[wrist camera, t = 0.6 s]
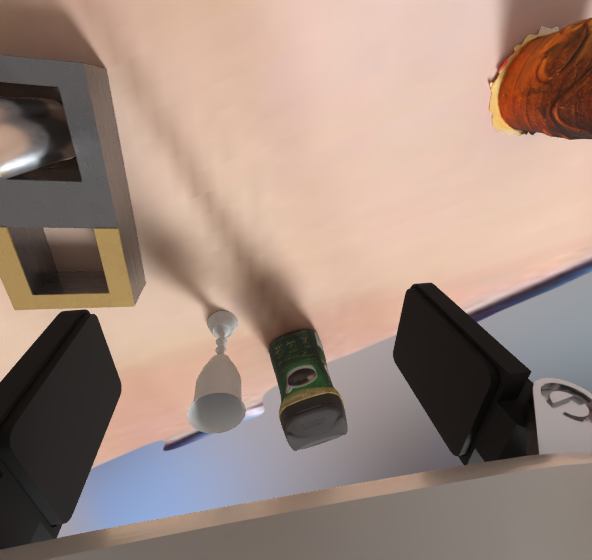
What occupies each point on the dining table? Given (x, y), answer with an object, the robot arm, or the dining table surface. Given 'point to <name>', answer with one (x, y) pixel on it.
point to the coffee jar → (306, 391)
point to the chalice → (218, 384)
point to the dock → (70, 200)
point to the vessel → (547, 84)
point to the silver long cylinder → (32, 135)
